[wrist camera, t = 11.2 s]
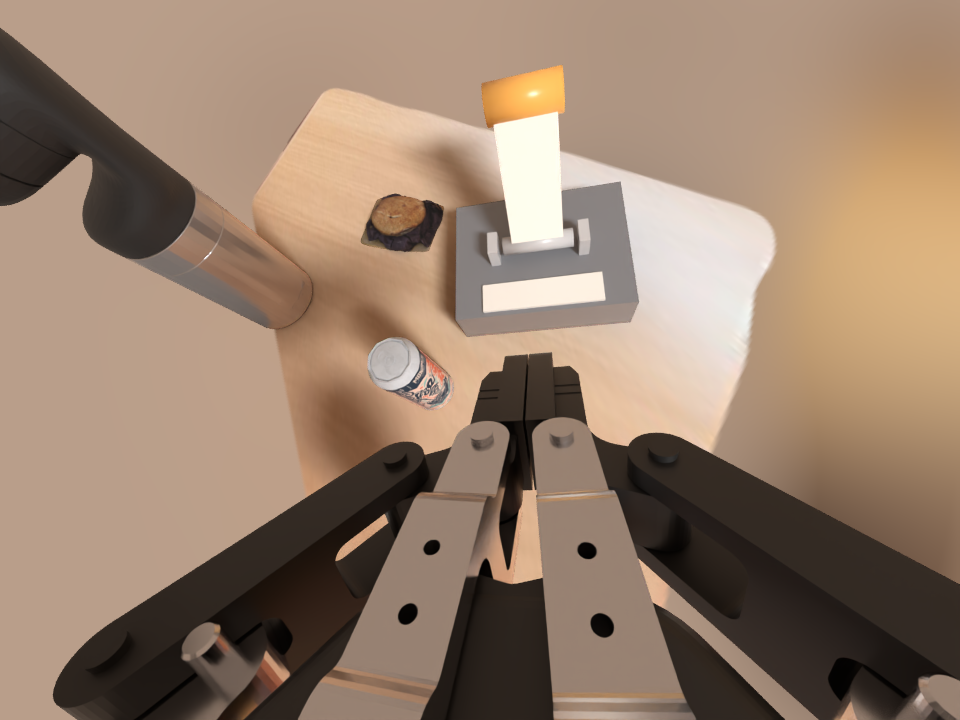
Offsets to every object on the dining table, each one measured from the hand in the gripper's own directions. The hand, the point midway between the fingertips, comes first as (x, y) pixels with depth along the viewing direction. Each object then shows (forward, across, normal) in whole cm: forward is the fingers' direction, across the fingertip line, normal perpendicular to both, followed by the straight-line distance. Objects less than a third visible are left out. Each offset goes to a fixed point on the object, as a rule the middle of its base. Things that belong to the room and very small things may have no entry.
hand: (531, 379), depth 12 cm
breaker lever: (+29, 0, +1) cm, 29 cm away
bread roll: (+41, +18, -1) cm, 45 cm away
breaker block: (+34, 0, +6) cm, 34 cm away
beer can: (+24, +13, +15) cm, 32 cm away
